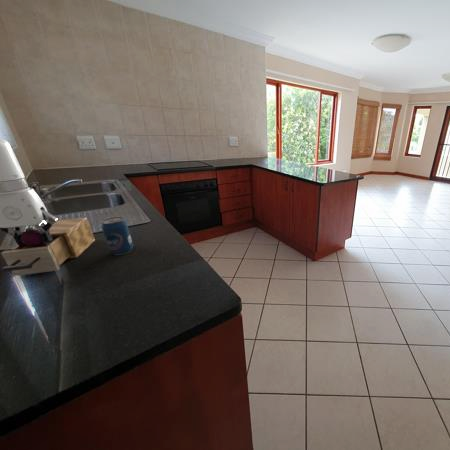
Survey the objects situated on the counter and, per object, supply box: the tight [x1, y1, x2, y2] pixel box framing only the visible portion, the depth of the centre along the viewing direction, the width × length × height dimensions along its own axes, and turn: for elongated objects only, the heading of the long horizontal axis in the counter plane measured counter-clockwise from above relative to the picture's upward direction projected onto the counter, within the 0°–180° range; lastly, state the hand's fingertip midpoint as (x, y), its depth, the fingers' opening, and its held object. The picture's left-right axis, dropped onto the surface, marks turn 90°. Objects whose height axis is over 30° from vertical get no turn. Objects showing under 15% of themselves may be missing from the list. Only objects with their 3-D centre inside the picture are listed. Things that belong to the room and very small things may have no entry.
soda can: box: [101, 216, 134, 256], centre depth 82 cm, size 7×7×12 cm
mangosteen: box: [20, 227, 46, 248], centre depth 71 cm, size 5×5×7 cm
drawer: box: [0, 235, 72, 277], centre depth 72 cm, size 18×10×8 cm, turn 18°
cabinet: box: [34, 217, 96, 260], centre depth 83 cm, size 14×12×10 cm
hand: (36, 244), depth 72 cm, fingers closed on mangosteen, 4 cm apart
